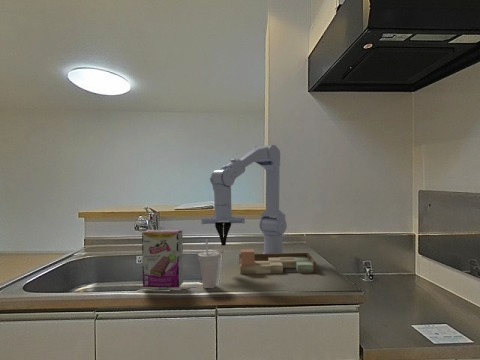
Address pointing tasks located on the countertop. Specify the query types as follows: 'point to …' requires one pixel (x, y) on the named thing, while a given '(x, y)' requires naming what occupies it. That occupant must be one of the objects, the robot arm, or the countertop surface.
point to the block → (247, 257)
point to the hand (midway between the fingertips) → (223, 244)
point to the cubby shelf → (280, 263)
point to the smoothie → (208, 267)
